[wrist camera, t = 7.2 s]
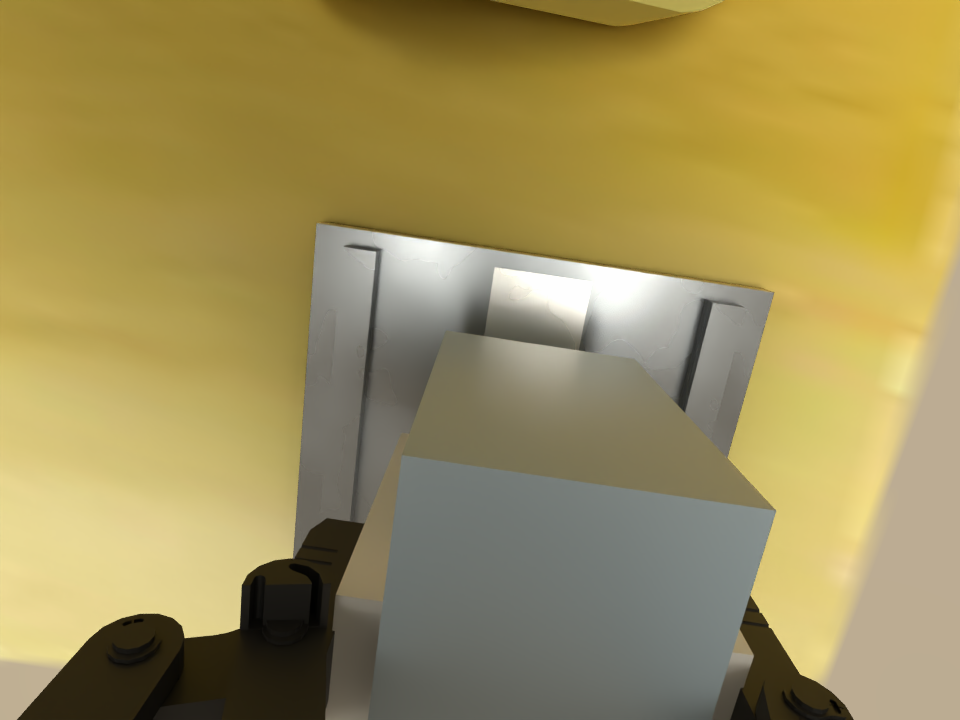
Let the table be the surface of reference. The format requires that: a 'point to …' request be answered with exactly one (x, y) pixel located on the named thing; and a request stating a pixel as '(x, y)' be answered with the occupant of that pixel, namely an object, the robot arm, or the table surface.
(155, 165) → the table surface
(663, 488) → the block
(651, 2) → the plastic component
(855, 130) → the table surface
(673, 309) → the rail mount
